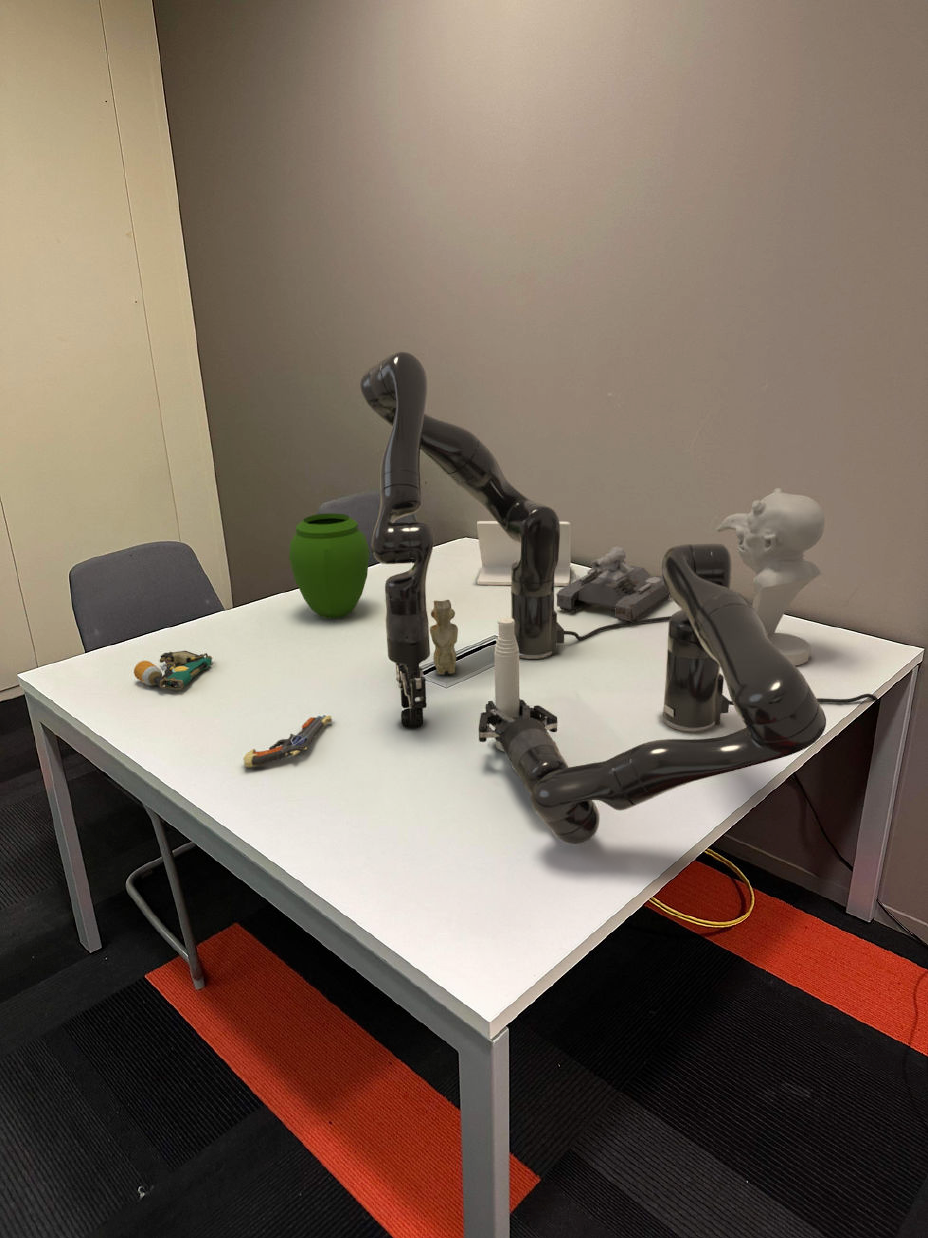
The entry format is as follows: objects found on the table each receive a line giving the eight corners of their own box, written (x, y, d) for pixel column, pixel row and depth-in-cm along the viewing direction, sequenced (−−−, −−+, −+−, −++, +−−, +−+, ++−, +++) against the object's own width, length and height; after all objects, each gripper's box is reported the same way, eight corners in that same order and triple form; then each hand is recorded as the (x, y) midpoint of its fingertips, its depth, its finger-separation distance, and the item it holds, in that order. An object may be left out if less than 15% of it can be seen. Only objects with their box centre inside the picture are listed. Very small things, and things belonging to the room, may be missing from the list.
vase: (389, 608, 216) (383, 514, 208) (339, 633, 201) (330, 533, 192) (330, 596, 226) (322, 506, 218) (278, 619, 211) (267, 523, 202)
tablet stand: (569, 585, 229) (570, 524, 223) (476, 584, 232) (475, 523, 226) (570, 566, 246) (571, 508, 240) (484, 564, 249) (483, 507, 243)
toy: (603, 584, 229) (605, 530, 224) (673, 597, 218) (677, 540, 213) (555, 612, 210) (556, 553, 205) (630, 627, 199) (633, 566, 194)
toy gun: (238, 757, 142) (294, 755, 140) (282, 713, 160) (332, 710, 158) (241, 772, 143) (297, 770, 141) (284, 726, 161) (334, 724, 159)
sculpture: (458, 662, 183) (456, 596, 178) (460, 676, 176) (457, 608, 171) (431, 663, 183) (428, 597, 177) (431, 677, 176) (428, 609, 171)
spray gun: (177, 659, 191) (231, 671, 185) (120, 684, 176) (176, 698, 171) (176, 641, 190) (230, 653, 184) (118, 665, 175) (174, 678, 169)
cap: (403, 730, 155) (403, 718, 155) (399, 720, 159) (398, 709, 158) (424, 727, 156) (424, 715, 155) (419, 717, 160) (419, 706, 159)
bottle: (515, 738, 151) (514, 614, 143) (522, 749, 148) (522, 622, 139) (493, 742, 150) (490, 617, 142) (500, 753, 147) (498, 626, 138)
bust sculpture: (744, 623, 200) (759, 474, 187) (830, 658, 180) (852, 494, 167) (692, 637, 193) (703, 483, 180) (775, 674, 173) (793, 504, 160)
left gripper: (379, 621, 157) (384, 702, 163) (395, 650, 144) (401, 737, 150) (418, 616, 159) (422, 696, 164) (438, 644, 146) (442, 730, 152)
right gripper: (487, 778, 133) (464, 728, 149) (574, 765, 136) (542, 717, 152) (486, 735, 131) (462, 689, 146) (575, 723, 133) (542, 679, 149)
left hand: (412, 715), depth 157 cm, fingers open, 7 cm apart
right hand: (503, 704), depth 149 cm, fingers closed on bottle, 4 cm apart
